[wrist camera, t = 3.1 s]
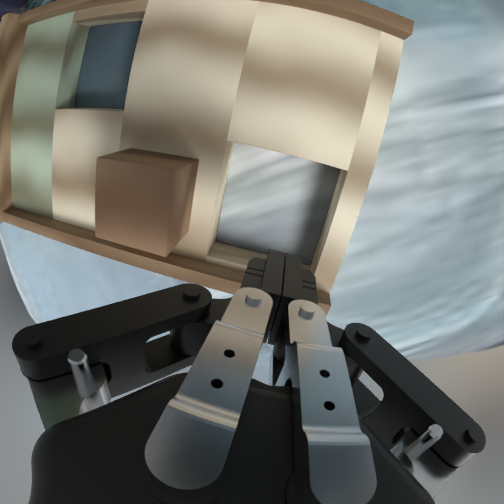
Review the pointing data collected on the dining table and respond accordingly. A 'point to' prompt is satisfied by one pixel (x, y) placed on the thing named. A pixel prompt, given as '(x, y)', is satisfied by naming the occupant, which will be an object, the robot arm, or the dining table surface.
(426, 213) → the dining table surface
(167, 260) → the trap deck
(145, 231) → the walnut block
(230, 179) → the dining table surface
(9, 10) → the flask
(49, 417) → the robot arm
